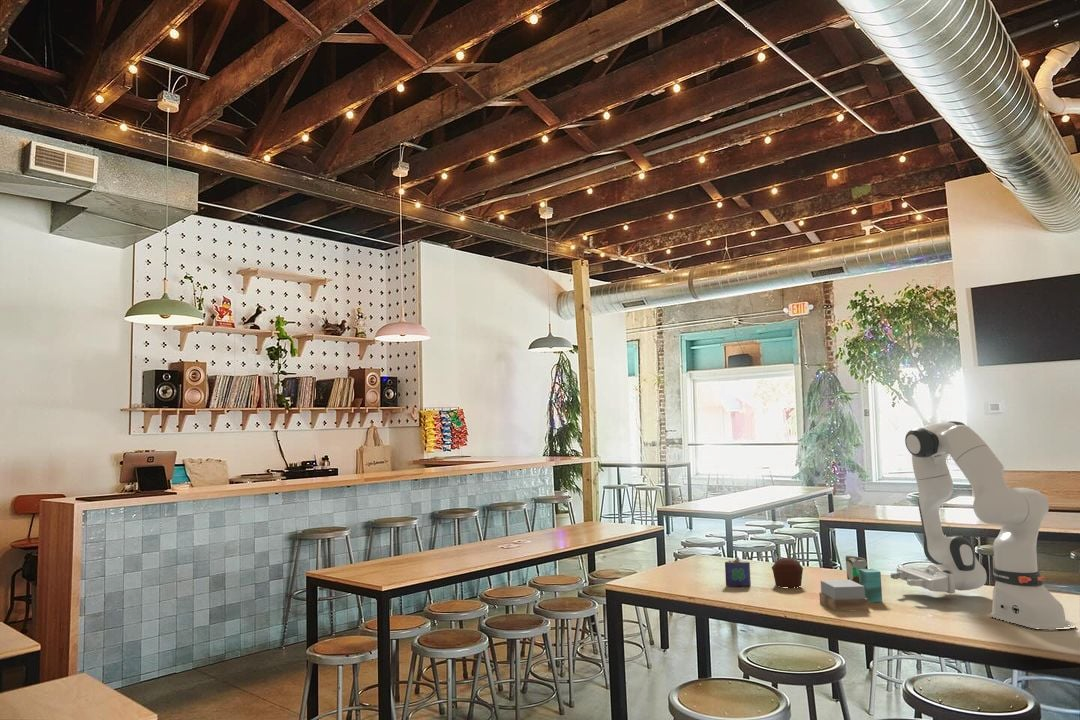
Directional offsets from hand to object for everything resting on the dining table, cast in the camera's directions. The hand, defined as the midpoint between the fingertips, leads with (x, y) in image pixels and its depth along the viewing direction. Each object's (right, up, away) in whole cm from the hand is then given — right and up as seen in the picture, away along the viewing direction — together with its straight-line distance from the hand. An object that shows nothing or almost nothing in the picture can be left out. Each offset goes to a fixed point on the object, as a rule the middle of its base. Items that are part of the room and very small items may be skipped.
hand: (899, 579), depth 244 cm
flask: (-49, -10, +22) cm, 55 cm away
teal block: (-11, -7, -2) cm, 13 cm away
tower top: (-23, -3, -9) cm, 25 cm away
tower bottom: (-23, -7, -9) cm, 26 cm away
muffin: (-31, -9, +21) cm, 39 cm away
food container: (-6, -8, +18) cm, 21 cm away
